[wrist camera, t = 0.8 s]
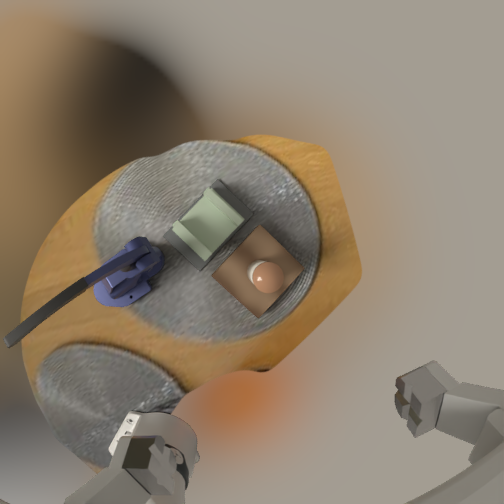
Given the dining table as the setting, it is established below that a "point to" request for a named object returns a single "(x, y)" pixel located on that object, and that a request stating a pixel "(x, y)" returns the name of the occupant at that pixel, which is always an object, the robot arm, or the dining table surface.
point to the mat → (246, 214)
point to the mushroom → (265, 276)
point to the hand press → (104, 284)
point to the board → (237, 263)
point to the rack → (207, 224)
